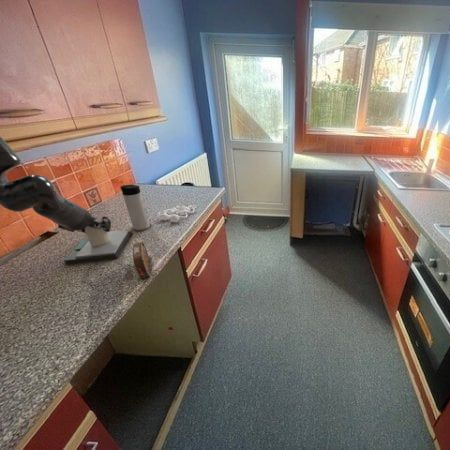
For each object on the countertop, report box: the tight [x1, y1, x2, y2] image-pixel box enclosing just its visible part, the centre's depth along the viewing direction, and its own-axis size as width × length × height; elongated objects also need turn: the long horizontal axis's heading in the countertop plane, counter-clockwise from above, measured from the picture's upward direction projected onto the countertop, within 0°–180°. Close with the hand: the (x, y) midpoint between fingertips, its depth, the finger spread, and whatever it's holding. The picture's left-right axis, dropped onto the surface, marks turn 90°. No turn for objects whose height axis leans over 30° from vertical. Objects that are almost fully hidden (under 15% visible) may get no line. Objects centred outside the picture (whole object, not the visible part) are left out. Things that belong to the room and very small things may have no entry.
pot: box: [84, 224, 110, 246], centre depth 91 cm, size 6×6×8 cm
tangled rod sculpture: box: [156, 204, 198, 223], centre depth 121 cm, size 19×14×4 cm
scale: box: [63, 229, 133, 265], centre depth 93 cm, size 15×18×3 cm
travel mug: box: [120, 184, 151, 232], centre depth 104 cm, size 6×7×20 cm
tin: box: [132, 241, 151, 279], centre depth 83 cm, size 15×3×8 cm, turn 30°
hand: (98, 230), depth 92 cm, fingers closed on pot, 5 cm apart
